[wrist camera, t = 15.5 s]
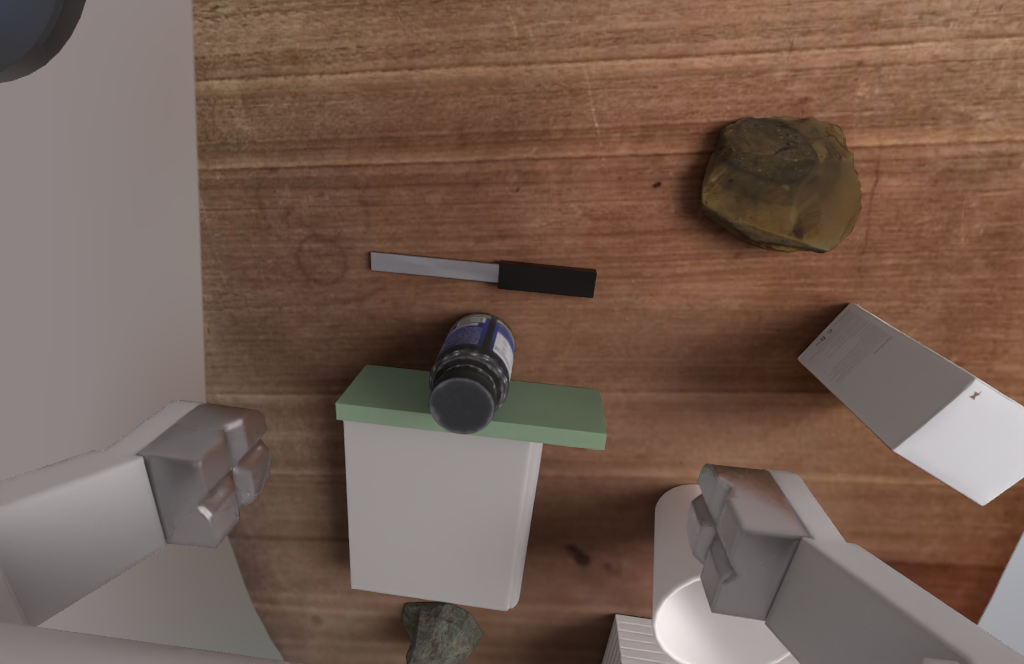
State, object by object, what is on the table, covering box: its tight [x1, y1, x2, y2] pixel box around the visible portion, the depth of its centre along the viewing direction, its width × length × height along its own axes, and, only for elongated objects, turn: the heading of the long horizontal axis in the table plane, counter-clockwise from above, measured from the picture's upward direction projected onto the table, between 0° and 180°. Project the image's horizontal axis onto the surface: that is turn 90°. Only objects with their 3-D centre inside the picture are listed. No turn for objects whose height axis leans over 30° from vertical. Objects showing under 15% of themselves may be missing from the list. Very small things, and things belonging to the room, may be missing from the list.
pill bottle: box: [429, 313, 515, 434], centre depth 39 cm, size 6×6×11 cm
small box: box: [797, 303, 1024, 506], centre depth 35 cm, size 8×6×13 cm
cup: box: [651, 484, 791, 664], centre depth 43 cm, size 12×12×12 cm
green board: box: [335, 365, 607, 450], centre depth 42 cm, size 22×2×7 cm, turn 85°
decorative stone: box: [700, 116, 862, 253], centre depth 35 cm, size 10×9×4 cm
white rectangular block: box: [343, 420, 543, 611], centre depth 49 cm, size 18×4×24 cm
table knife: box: [371, 251, 597, 298], centre depth 41 cm, size 19×2×1 cm, turn 85°
